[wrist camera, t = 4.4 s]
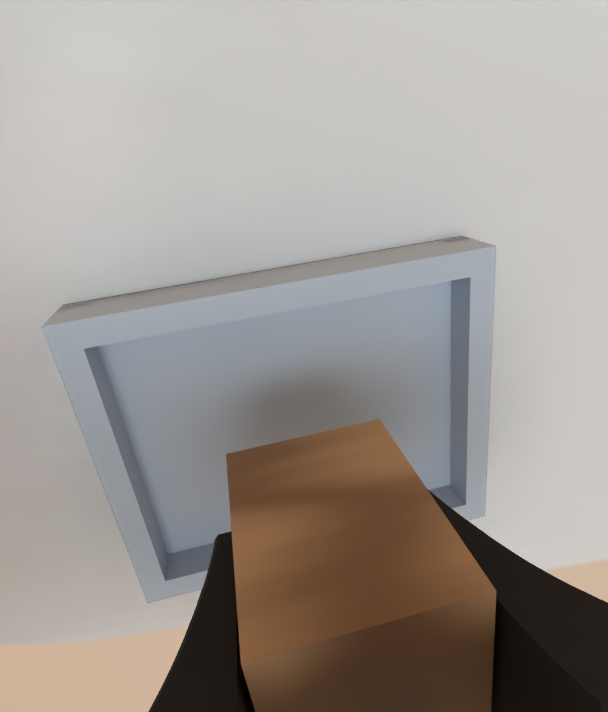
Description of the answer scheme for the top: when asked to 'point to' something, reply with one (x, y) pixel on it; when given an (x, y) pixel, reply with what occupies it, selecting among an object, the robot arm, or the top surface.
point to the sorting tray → (277, 384)
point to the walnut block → (354, 581)
